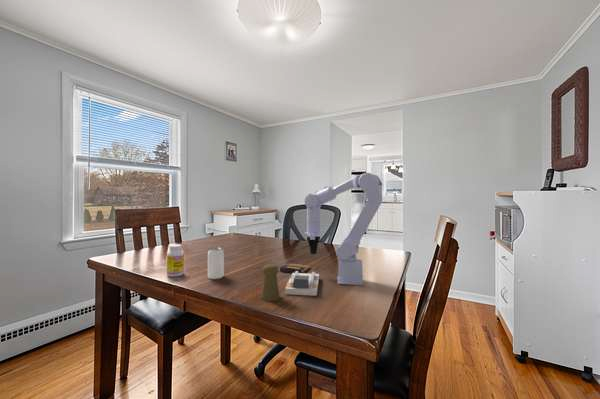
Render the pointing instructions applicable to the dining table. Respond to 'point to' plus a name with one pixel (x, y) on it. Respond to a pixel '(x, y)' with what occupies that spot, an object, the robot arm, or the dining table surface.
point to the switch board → (303, 291)
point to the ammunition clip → (294, 268)
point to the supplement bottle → (175, 261)
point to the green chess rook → (270, 283)
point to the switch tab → (301, 281)
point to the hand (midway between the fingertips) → (313, 253)
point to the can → (215, 263)
